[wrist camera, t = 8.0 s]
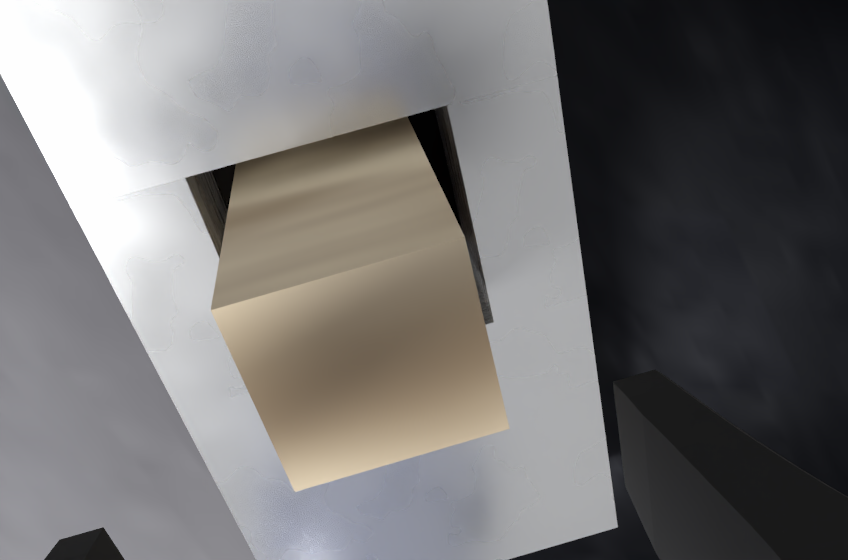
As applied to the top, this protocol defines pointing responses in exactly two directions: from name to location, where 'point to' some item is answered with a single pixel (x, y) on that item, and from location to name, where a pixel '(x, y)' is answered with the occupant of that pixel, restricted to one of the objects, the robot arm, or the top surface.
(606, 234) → the top surface
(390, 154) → the peg
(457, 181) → the board with rectangular recess
